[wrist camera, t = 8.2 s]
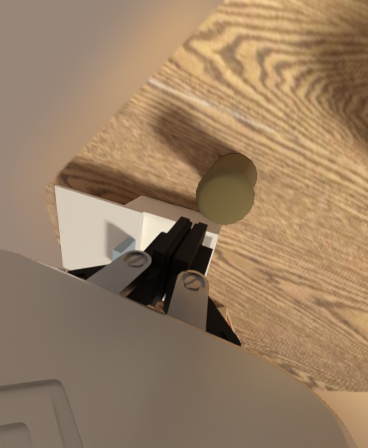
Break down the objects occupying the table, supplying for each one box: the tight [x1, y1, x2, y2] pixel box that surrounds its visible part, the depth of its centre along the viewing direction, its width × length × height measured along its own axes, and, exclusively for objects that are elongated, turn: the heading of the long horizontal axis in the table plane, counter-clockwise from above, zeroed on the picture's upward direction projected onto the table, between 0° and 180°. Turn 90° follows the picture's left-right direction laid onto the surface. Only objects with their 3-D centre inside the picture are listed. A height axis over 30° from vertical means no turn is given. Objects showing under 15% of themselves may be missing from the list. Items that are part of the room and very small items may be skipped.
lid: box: [55, 185, 144, 270], centre depth 29 cm, size 14×13×4 cm
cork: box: [196, 153, 257, 225], centre depth 22 cm, size 6×6×11 cm
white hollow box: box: [125, 195, 222, 301], centre depth 31 cm, size 14×13×5 cm
